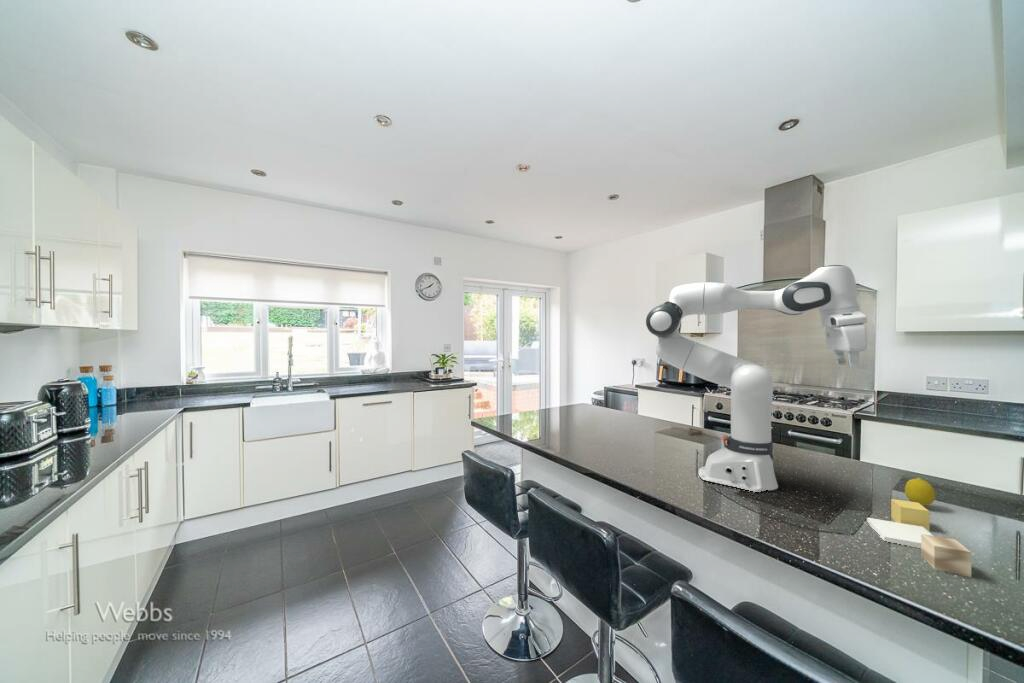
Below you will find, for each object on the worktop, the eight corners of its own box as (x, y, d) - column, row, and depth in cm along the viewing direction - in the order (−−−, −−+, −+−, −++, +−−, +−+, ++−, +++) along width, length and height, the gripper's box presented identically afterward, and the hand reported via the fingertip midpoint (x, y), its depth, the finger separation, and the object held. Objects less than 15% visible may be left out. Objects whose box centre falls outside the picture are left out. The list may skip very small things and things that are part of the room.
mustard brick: (900, 526, 89) (900, 506, 89) (891, 518, 93) (891, 498, 93) (929, 531, 87) (929, 511, 87) (918, 522, 91) (918, 502, 91)
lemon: (941, 512, 96) (941, 482, 96) (916, 510, 97) (916, 481, 97) (922, 503, 101) (922, 474, 101) (899, 501, 102) (898, 473, 102)
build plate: (884, 541, 82) (884, 536, 82) (867, 522, 91) (866, 517, 91) (947, 553, 78) (947, 547, 78) (922, 531, 87) (922, 526, 87)
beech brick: (934, 570, 72) (934, 545, 72) (921, 557, 77) (921, 533, 77) (971, 577, 70) (971, 552, 70) (955, 563, 74) (955, 539, 74)
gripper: (816, 321, 117) (823, 364, 116) (838, 319, 99) (846, 369, 98) (841, 318, 114) (848, 362, 113) (869, 316, 96) (877, 367, 95)
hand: (847, 365), depth 106 cm, fingers open, 8 cm apart
